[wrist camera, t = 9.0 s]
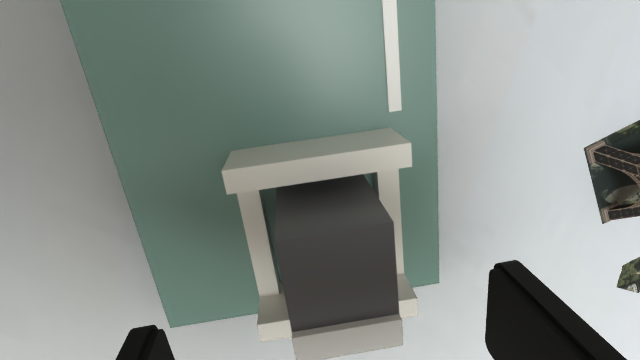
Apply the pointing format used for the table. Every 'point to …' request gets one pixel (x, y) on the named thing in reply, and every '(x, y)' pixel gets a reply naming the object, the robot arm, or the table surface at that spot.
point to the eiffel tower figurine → (618, 186)
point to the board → (261, 133)
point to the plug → (337, 268)
